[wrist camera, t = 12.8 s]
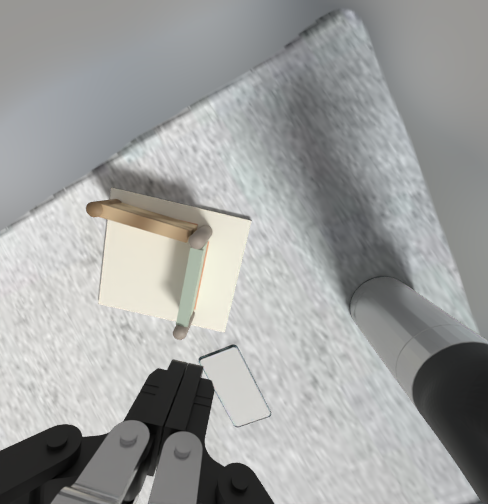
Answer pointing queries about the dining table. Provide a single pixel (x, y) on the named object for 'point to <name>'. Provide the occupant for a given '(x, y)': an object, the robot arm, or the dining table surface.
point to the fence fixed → (192, 280)
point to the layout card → (171, 263)
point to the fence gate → (141, 219)
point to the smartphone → (235, 386)
